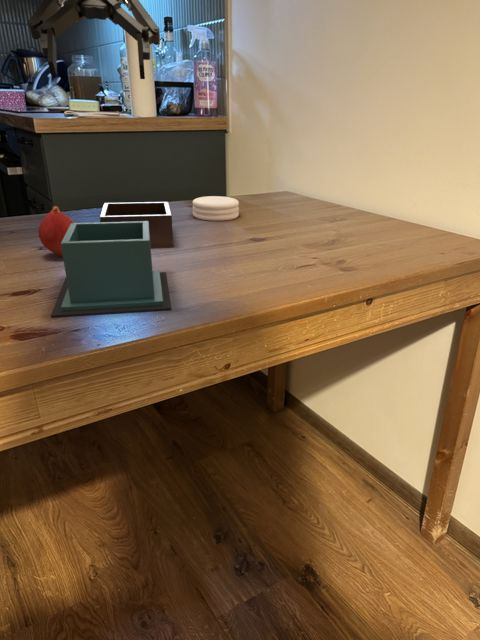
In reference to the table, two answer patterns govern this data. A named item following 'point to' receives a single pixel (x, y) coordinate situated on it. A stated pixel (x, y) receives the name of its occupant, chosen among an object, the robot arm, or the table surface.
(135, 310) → the mat
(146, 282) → the box
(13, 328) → the table surface
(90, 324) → the table surface
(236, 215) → the white short cylinder
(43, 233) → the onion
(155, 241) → the box
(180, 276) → the table surface
